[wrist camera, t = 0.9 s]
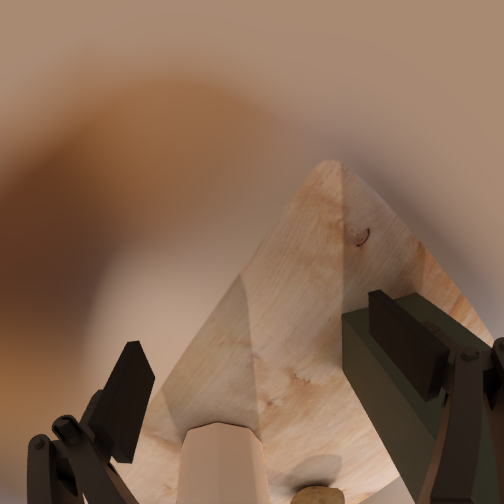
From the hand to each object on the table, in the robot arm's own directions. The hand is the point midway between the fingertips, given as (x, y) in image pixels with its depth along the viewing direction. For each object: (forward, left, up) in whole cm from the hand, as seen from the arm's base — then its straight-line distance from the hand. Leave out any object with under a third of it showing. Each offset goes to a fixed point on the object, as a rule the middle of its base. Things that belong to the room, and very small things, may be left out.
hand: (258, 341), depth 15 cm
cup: (+25, -8, -13) cm, 29 cm away
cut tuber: (+46, +4, -13) cm, 48 cm away
